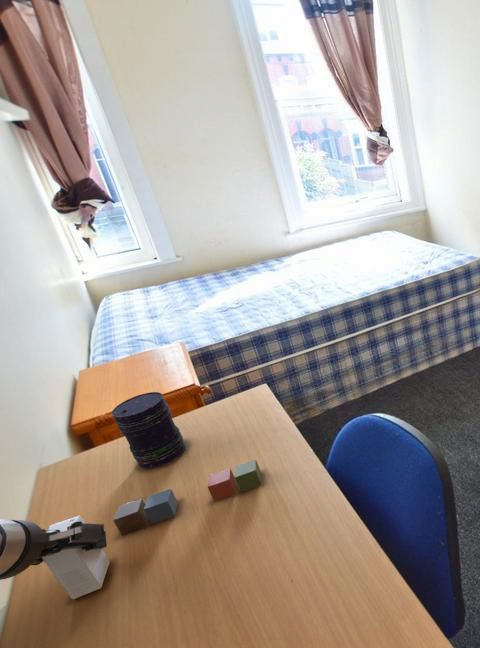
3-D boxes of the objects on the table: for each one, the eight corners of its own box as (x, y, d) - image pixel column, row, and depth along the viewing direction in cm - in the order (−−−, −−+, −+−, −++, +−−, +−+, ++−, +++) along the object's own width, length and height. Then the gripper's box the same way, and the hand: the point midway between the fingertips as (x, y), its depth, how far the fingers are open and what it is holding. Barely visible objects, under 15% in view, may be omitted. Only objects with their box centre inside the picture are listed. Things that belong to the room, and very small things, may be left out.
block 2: (151, 524, 93) (143, 509, 91) (155, 510, 96) (147, 496, 95) (175, 515, 95) (167, 501, 93) (178, 502, 98) (170, 488, 96)
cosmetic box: (81, 572, 84) (49, 524, 79) (110, 561, 85) (81, 513, 80) (70, 601, 79) (35, 551, 74) (101, 589, 80) (69, 540, 75)
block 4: (240, 492, 99) (234, 477, 97) (241, 480, 102) (235, 466, 101) (261, 484, 101) (255, 470, 99) (261, 473, 104) (255, 459, 102)
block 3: (214, 501, 97) (207, 487, 96) (215, 489, 101) (209, 475, 99) (235, 494, 99) (229, 479, 97) (236, 482, 102) (230, 467, 100)
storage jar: (172, 438, 119) (148, 388, 114) (195, 446, 115) (172, 395, 109) (129, 463, 111) (102, 412, 105) (152, 474, 107) (125, 421, 101)
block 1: (121, 535, 91) (112, 520, 90) (126, 521, 95) (118, 506, 93) (145, 526, 93) (137, 511, 91) (150, 512, 96) (142, 498, 94)
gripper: (-97, 611, 59) (25, 591, 79) (75, 550, 65) (146, 545, 85) (-95, 549, 61) (23, 545, 81) (70, 496, 67) (141, 504, 88)
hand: (86, 545), depth 83 cm, fingers closed on cosmetic box, 4 cm apart
